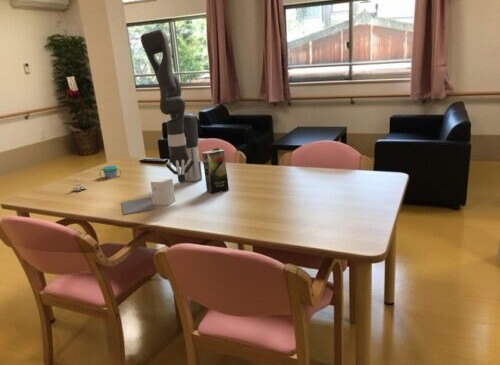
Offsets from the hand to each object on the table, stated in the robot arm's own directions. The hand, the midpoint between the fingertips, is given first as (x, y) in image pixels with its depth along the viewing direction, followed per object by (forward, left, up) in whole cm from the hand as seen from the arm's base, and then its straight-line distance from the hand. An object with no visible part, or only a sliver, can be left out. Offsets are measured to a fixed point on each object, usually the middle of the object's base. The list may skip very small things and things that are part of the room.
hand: (181, 182), depth 180 cm
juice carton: (-17, -5, -8) cm, 20 cm away
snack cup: (+30, -59, -8) cm, 67 cm away
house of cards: (+47, -40, -9) cm, 62 cm away
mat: (+20, -2, -8) cm, 22 cm away
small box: (+9, 0, -8) cm, 12 cm away
